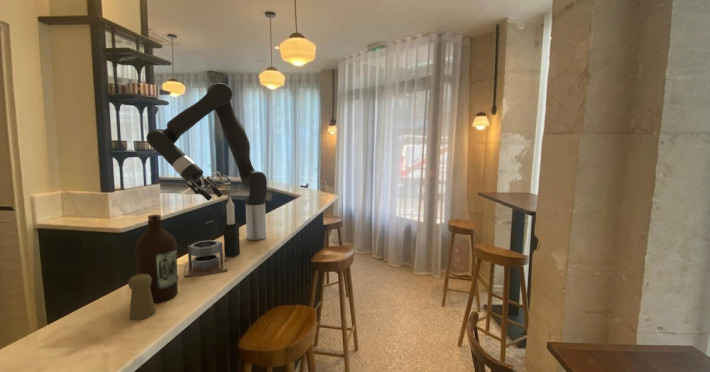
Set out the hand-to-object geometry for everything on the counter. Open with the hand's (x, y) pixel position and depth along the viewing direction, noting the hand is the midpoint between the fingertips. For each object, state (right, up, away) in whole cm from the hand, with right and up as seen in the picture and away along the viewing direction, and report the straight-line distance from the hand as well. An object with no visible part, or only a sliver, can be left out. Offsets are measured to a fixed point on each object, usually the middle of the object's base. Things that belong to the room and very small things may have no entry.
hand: (215, 197), depth 133 cm
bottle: (+6, -24, +2) cm, 25 cm away
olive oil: (-2, -29, -35) cm, 46 cm away
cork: (0, -30, -45) cm, 55 cm away
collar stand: (+1, -26, -12) cm, 28 cm away
